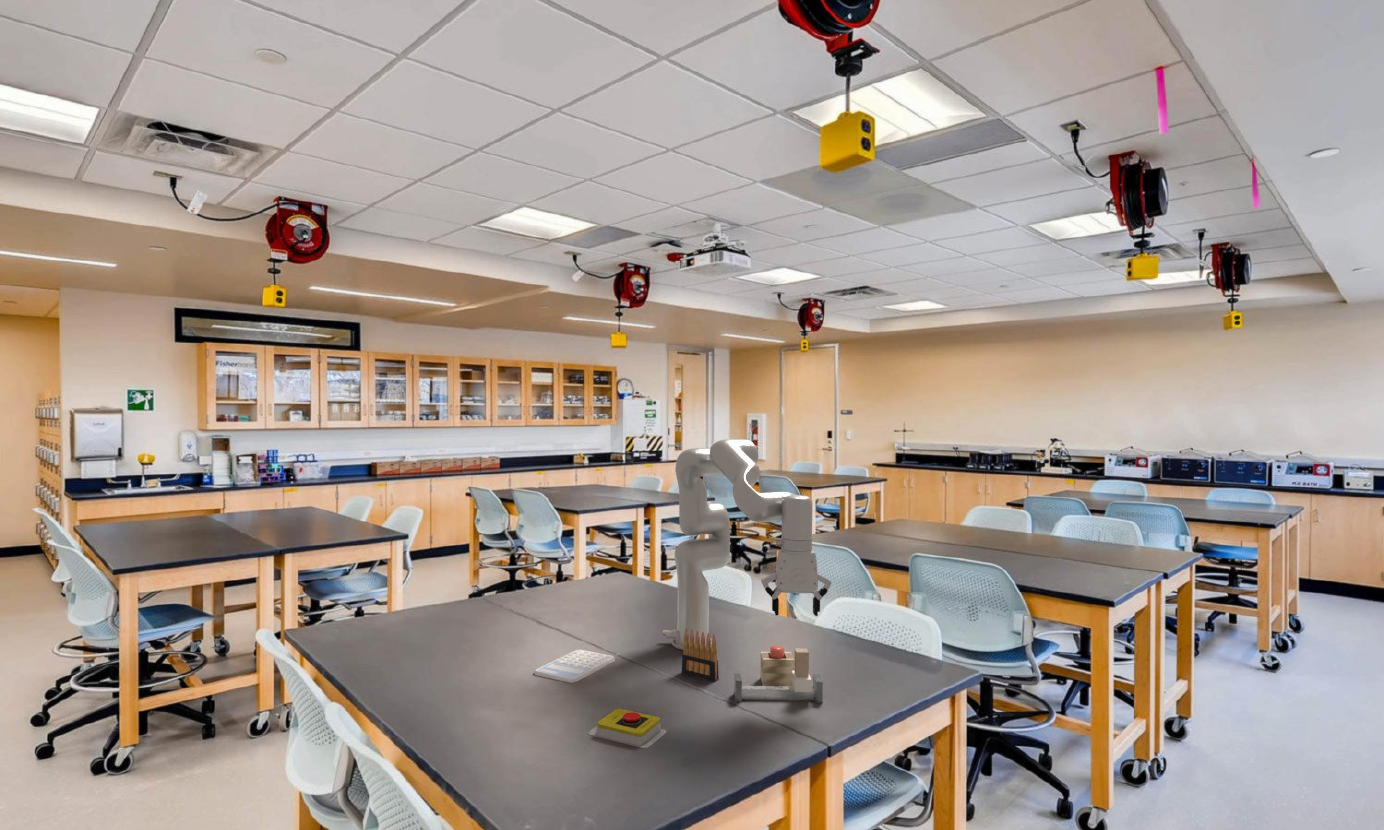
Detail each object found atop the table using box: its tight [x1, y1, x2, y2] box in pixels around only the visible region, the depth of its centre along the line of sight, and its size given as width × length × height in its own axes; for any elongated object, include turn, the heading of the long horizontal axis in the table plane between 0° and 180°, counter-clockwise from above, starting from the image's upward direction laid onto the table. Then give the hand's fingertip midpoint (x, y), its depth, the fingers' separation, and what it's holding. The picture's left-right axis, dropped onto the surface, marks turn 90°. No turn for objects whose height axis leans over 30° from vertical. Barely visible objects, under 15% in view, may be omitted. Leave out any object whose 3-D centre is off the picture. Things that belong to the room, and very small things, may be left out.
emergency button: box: [588, 708, 667, 749], centre depth 148 cm, size 9×4×15 cm
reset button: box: [769, 645, 785, 659], centre depth 178 cm, size 4×4×4 cm
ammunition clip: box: [681, 628, 720, 683], centre depth 182 cm, size 11×2×12 cm, turn 56°
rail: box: [733, 672, 824, 704], centre depth 168 cm, size 21×5×5 cm, turn 90°
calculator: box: [534, 648, 616, 684], centre depth 188 cm, size 13×20×2 cm, turn 153°
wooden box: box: [760, 651, 795, 686], centre depth 178 cm, size 8×6×7 cm
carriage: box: [792, 647, 813, 692], centre depth 168 cm, size 4×6×9 cm, turn 0°
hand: (795, 614), depth 170 cm, fingers open, 9 cm apart
